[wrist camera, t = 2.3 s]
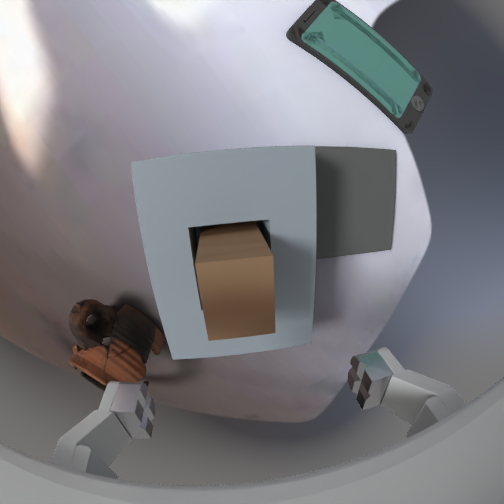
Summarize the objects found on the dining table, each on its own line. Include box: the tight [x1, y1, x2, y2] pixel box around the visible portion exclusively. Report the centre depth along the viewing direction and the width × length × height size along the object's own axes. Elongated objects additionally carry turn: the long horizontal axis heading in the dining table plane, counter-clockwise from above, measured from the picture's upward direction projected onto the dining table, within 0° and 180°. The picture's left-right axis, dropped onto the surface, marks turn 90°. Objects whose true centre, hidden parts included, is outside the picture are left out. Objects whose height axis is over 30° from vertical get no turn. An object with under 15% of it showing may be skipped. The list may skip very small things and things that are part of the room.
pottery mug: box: [69, 300, 164, 391], centre depth 23 cm, size 12×10×8 cm
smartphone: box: [286, 0, 432, 133], centre depth 19 cm, size 7×1×15 cm
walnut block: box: [195, 221, 276, 341], centre depth 19 cm, size 5×4×9 cm
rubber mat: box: [315, 146, 396, 259], centre depth 23 cm, size 10×10×1 cm
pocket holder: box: [131, 146, 317, 360], centre depth 21 cm, size 16×12×5 cm
